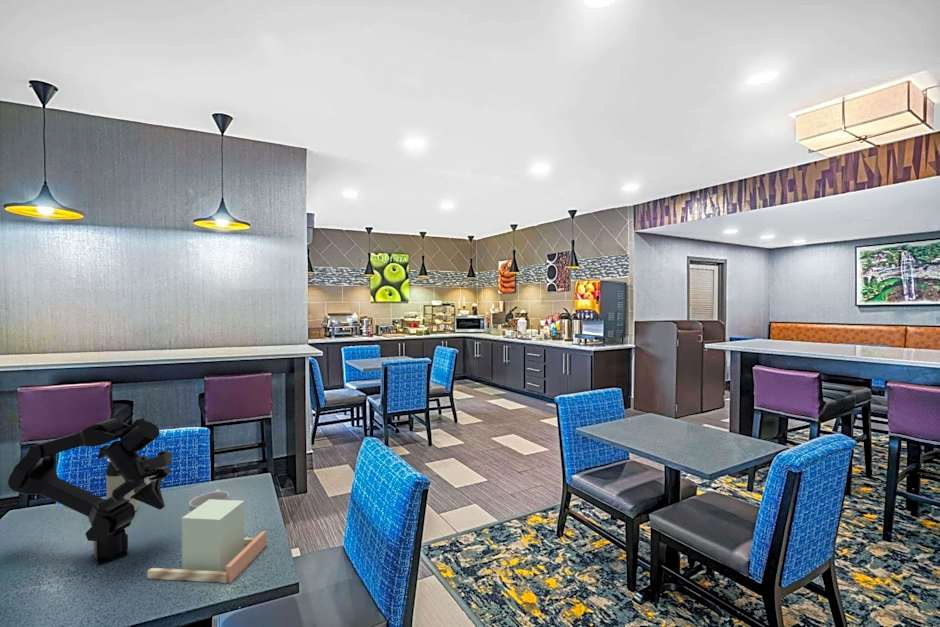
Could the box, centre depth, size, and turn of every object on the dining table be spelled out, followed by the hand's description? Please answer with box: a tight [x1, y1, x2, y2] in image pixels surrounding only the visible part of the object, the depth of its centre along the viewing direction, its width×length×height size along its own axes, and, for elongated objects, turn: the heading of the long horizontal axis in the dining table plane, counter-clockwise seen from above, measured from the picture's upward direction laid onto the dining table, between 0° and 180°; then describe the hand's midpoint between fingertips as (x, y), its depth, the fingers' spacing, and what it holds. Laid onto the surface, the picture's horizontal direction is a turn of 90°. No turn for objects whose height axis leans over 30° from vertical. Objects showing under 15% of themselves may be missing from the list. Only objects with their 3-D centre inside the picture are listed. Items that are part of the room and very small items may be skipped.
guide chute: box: [147, 530, 267, 584], centre depth 123 cm, size 21×17×4 cm
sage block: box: [181, 499, 245, 572], centre depth 123 cm, size 10×11×14 cm
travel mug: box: [105, 458, 139, 512], centre depth 150 cm, size 8×8×18 cm
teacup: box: [188, 488, 230, 513], centre depth 145 cm, size 14×11×8 cm
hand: (162, 508), depth 123 cm, fingers closed
